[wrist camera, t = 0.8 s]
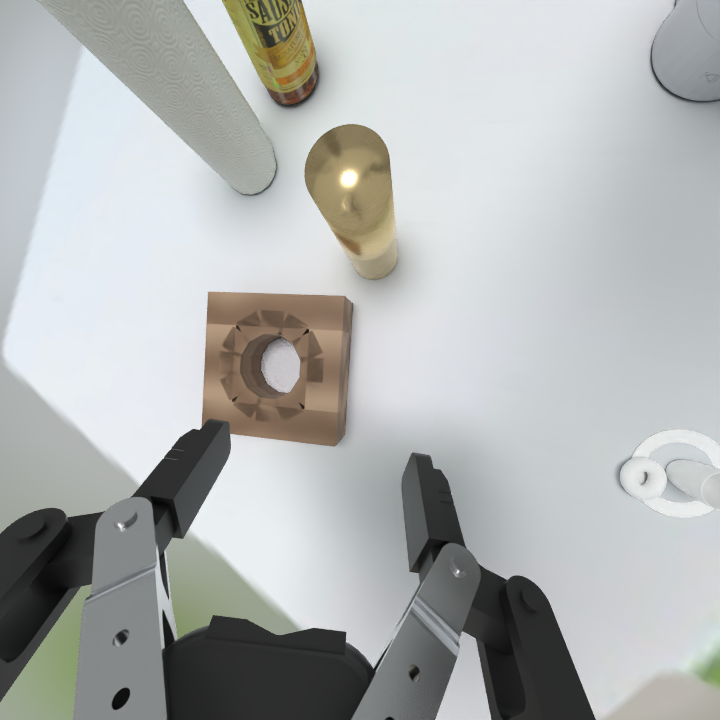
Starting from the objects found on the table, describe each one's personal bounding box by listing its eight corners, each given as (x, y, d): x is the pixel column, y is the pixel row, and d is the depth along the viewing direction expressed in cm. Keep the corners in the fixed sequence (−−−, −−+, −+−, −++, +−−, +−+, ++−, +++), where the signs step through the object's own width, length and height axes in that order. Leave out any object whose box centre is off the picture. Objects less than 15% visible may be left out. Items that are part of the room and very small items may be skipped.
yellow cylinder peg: (353, 233, 30) (307, 127, 16) (399, 233, 29) (392, 121, 15) (350, 279, 30) (302, 213, 16) (396, 280, 29) (386, 212, 15)
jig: (232, 299, 32) (208, 291, 28) (352, 303, 30) (344, 296, 26) (226, 420, 32) (201, 430, 28) (344, 434, 30) (335, 446, 26)
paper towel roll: (252, 207, 31) (-64, -93, 10) (217, 172, 32) (-148, -179, 11) (295, 156, 30) (45, -288, 9) (259, 121, 31) (-53, -372, 10)
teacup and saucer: (601, 487, 27) (635, 510, 23) (638, 410, 26) (680, 420, 22) (702, 530, 25) (758, 563, 21) (744, 450, 25) (809, 468, 21)
